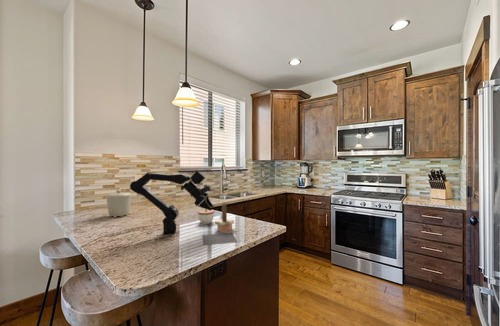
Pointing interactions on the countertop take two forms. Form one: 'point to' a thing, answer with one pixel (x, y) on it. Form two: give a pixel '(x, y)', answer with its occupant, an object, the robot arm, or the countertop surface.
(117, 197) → the canister
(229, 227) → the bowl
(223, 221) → the disc with tall peg
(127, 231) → the countertop surface
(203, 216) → the lidded jar
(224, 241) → the mat
